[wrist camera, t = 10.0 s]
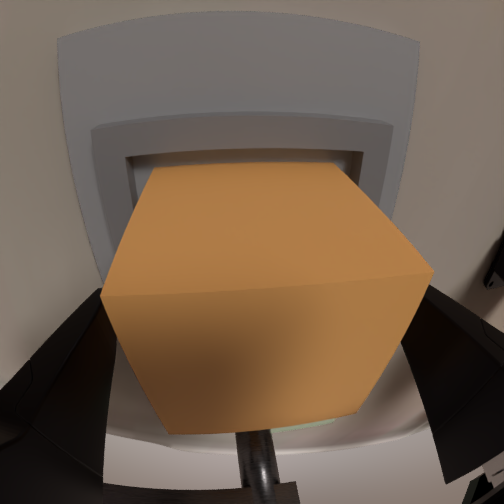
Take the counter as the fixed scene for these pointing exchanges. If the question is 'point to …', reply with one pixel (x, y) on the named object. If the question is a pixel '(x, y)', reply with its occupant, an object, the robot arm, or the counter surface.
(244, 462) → the black knob lever
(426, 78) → the counter surface
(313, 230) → the orange cube
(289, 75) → the socket plate
